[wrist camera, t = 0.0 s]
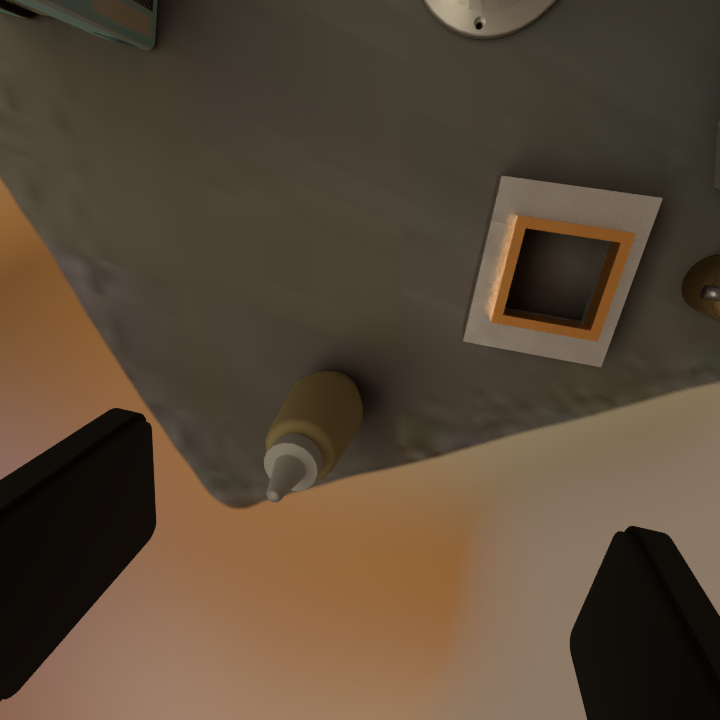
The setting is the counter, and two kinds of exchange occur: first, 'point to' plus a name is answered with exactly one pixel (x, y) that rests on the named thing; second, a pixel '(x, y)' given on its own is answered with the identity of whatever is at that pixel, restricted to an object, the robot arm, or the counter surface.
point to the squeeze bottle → (311, 431)
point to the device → (96, 17)
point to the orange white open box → (565, 216)
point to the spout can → (704, 287)
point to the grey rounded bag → (717, 158)
